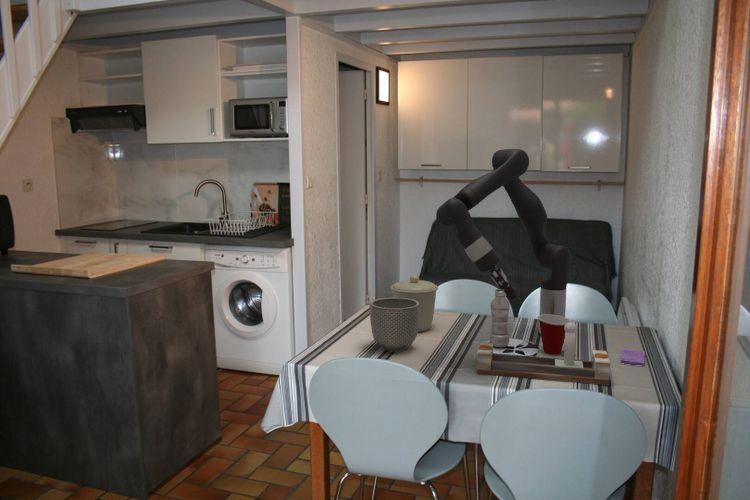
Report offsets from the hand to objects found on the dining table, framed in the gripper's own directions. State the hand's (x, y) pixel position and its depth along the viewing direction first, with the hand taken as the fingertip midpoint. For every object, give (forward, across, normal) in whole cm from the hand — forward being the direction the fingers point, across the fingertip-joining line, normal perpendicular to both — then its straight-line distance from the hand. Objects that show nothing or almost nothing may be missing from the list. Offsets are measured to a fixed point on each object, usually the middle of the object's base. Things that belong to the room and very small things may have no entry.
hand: (513, 296), depth 191 cm
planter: (-7, +14, +44) cm, 47 cm away
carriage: (+27, -3, 0) cm, 27 cm away
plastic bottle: (+14, +21, +16) cm, 30 cm away
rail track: (+24, -2, +7) cm, 25 cm away
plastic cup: (+26, +18, +2) cm, 31 cm away
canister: (-6, +38, +40) cm, 56 cm away
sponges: (+41, +16, -17) cm, 47 cm away
